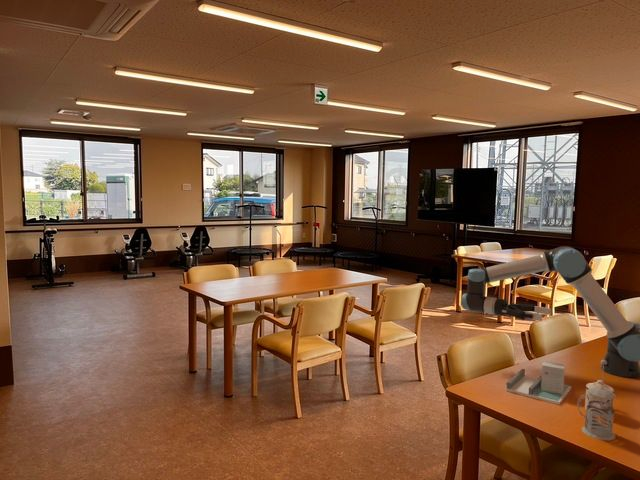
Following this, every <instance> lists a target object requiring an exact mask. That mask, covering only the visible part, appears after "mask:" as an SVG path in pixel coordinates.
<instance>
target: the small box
mask: <svg viewBox="0 0 640 480" xmlns="http://www.w3.org/2000/svg"><path fill="white" fill-rule="evenodd" d="M541 367H542V368H541V375H542V381H541V391H546V392H552V393H558V394H563V389H564V385H565V369H566V368H565V364H564V363H557V362H552V361H542V366H541Z"/></svg>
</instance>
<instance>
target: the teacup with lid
mask: <svg viewBox="0 0 640 480" xmlns="http://www.w3.org/2000/svg"><path fill="white" fill-rule="evenodd" d="M594 387H601V388H605V389H608V390H610V391H612V392H613V393H614V394H615V390H614V388H613V387H612V386H610V385H608V384H606V383H604V381H603V383H602V379H597V381H595V382H589V383H586V385H585V397H586V396H587V395H588V397H589V400H588V399H587V397H586V398H584V400H585V401H584V410H585V411H586V412H587V406H588V405H589V404H588V402H589V401H592V400H595V401H600V400H601V401H603V402H605V403H608V404H611V405H612V406H613V407H614V405H613V403H614V399H602V398H598V397H595V396H592V395H590V394H589V393H588V389H590V388H594ZM591 409H595V408H593V407H592V408H590V409H589V410H591ZM596 410H598V409H596ZM598 411H600V412H601V413H603V414H605V415H609V414H607V413H605V412H603V411H601V410H598ZM593 412H595V413H598V412H596V411H593ZM599 414H600V413H599Z"/></svg>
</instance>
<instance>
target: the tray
mask: <svg viewBox="0 0 640 480" xmlns="http://www.w3.org/2000/svg"><path fill="white" fill-rule="evenodd" d="M541 381H542V374H541V375H540V376H539V377H538V378H537V377H534V376H530V375H526V369H525V368H522V369H520V370H519V371H518V372H517V373H516V374H515V375H514V376H513V377H511V378H510V379H509V380H508V381H507V382H506V392H510V393H513V394H517V395H521V396H525V397H528V398H532V399H536V400H538V401H543V402H547V403H549V404H550V403H551V404H555V405H561V404H562V401H564V399H565V397H567V395H568V394H569V393H570V391H571V390H572V386H570V385H568V384H564V389H563V394H558V393H552V392H546V391H541Z"/></svg>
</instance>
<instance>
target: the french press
mask: <svg viewBox="0 0 640 480" xmlns="http://www.w3.org/2000/svg"><path fill="white" fill-rule="evenodd" d="M601 364H603V370H602V371H604V364H607V361H606V360H603V359H601V361H600V365H601ZM601 375H602V379H601V380H602V383H603V382H604V374H601ZM588 393H589V394H590V395H592V396H595V397H598V398H602V399H613V400H614V399H615V398H616V396H617V395H616V394H615V392H614V393H613V392H612V391H610V390H608V389H605V388H601V387H594V388H590V389H588ZM586 397H587V399H588V400H589V397H588V395H587V396H586V394H583V395H581V396H580V397H579V398H578V399H577V404H576V405H577V406H576V407H577V410H578V411H579V414H580V415H581V416H583V417H584V419H585V420H584V426H582V427H581V431H582V432H583V433H584V434H585V435H587V436H588V437H590V438H593V439H597V440H601V441H613V440H615V439H616V434H615V433H614V432H613V428H614V415H615V413H614V410H613V409H614V405H613V406H612V405H611V404H608V403H605V402H603V401H601V400H600V401H595V400H592V401H589V402H588V404H589V405H588V406H587V411H586V414H584V413H583V412H582V411H581V410H580V404H581V401H582V400H585V399H586ZM592 407H593V408H595V409H591V410H589V409H590V408H592ZM596 409H598V410H601V411H603V412H605V413H607V414H609V415H605V414H603V413H601V412H600V411H598V410H596ZM593 411H596V412H598V413H595V412H593ZM599 413H600V414H599Z"/></svg>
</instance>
